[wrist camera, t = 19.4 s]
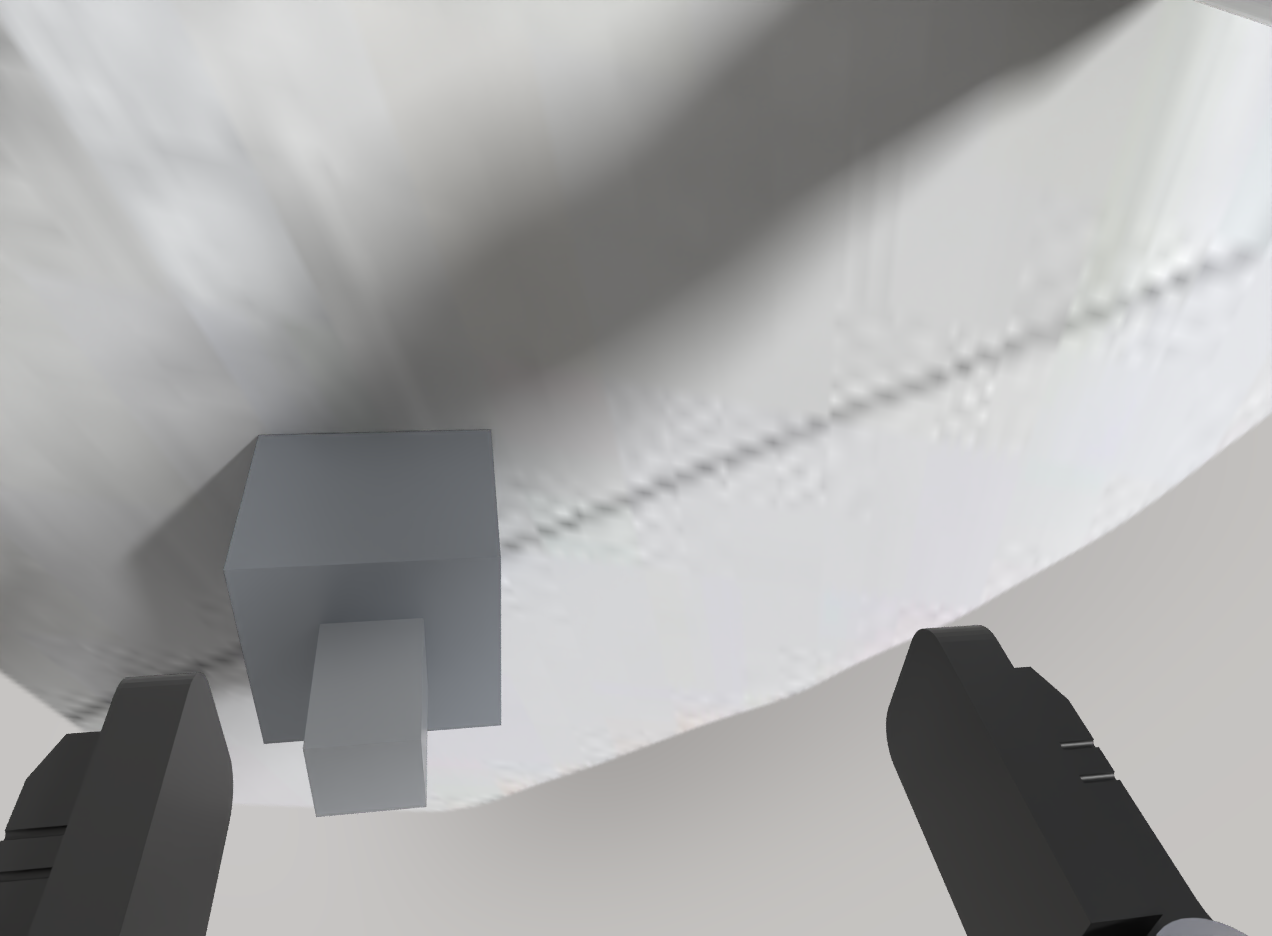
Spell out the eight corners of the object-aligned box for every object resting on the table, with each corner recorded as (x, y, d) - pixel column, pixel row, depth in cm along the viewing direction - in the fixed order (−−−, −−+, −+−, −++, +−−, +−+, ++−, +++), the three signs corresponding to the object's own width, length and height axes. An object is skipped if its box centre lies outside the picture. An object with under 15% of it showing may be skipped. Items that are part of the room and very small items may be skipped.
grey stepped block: (490, 429, 44) (509, 674, 33) (492, 590, 50) (508, 845, 39) (258, 435, 42) (190, 696, 31) (289, 600, 48) (241, 872, 37)
